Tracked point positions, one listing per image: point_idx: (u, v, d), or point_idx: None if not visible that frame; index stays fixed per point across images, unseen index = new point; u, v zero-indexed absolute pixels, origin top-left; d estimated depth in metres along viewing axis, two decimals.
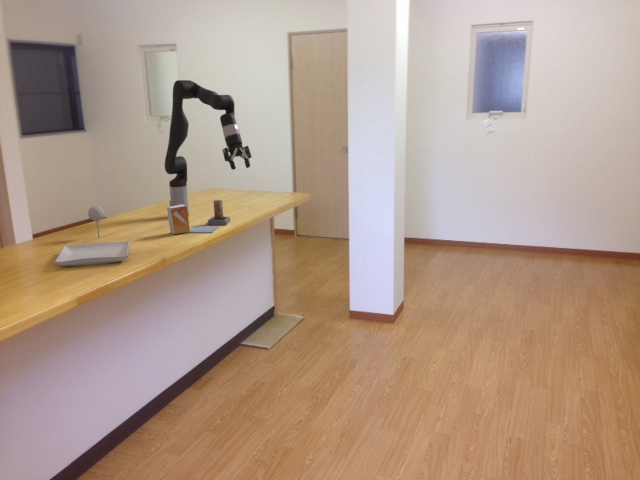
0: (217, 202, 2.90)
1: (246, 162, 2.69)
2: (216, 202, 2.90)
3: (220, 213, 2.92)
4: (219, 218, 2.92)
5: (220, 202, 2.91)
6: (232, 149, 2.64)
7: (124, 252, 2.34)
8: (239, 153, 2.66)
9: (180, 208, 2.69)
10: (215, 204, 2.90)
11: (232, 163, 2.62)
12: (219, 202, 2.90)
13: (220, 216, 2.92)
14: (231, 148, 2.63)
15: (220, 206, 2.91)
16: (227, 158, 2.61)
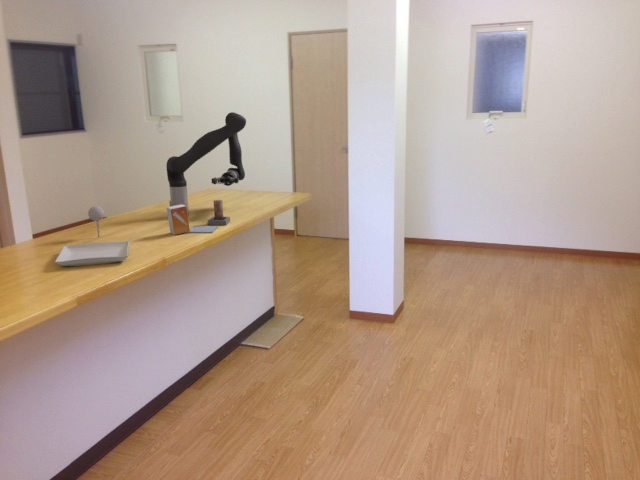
0: (217, 202, 2.90)
1: (216, 182, 3.03)
2: (216, 202, 2.90)
3: (220, 213, 2.92)
4: (219, 218, 2.92)
5: (220, 202, 2.91)
6: None
7: (124, 252, 2.34)
8: None
9: (180, 208, 2.69)
10: (215, 204, 2.90)
11: (232, 182, 3.03)
12: (219, 202, 2.90)
13: (220, 216, 2.92)
14: None
15: (220, 206, 2.91)
16: (237, 182, 3.05)
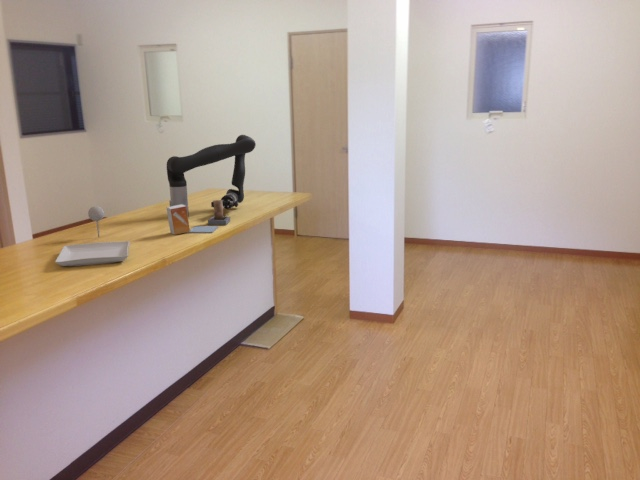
0: (217, 202, 2.90)
1: None
2: (216, 202, 2.90)
3: (220, 213, 2.92)
4: (219, 218, 2.92)
5: (220, 202, 2.91)
6: None
7: (124, 252, 2.34)
8: (224, 205, 3.07)
9: (180, 208, 2.69)
10: (215, 204, 2.90)
11: (231, 206, 3.03)
12: (219, 202, 2.90)
13: (220, 216, 2.92)
14: None
15: (220, 206, 2.91)
16: None
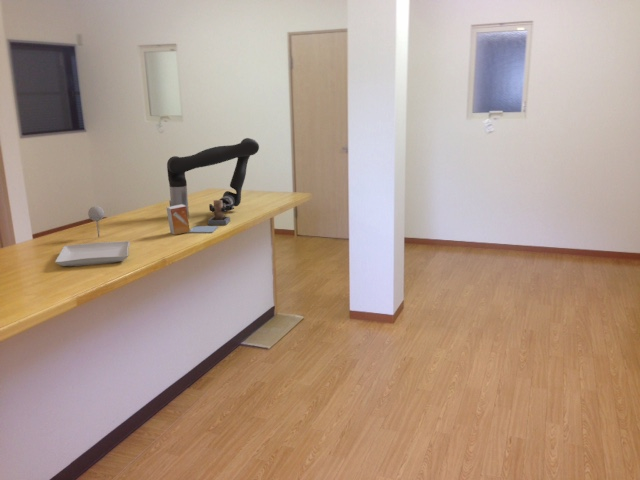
0: (217, 202, 2.90)
1: None
2: (216, 202, 2.90)
3: (220, 213, 2.92)
4: (219, 218, 2.92)
5: (220, 202, 2.91)
6: None
7: (124, 252, 2.34)
8: None
9: (180, 208, 2.69)
10: (215, 204, 2.90)
11: (224, 210, 2.93)
12: (219, 202, 2.90)
13: (220, 216, 2.92)
14: None
15: (220, 206, 2.91)
16: (229, 210, 2.95)
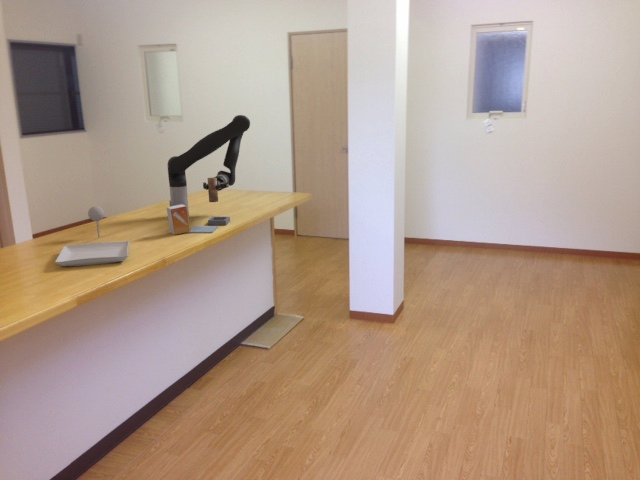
0: (211, 179, 2.82)
1: None
2: (210, 179, 2.82)
3: (214, 191, 2.84)
4: (213, 196, 2.84)
5: (214, 179, 2.83)
6: None
7: (124, 252, 2.34)
8: None
9: (180, 208, 2.69)
10: (209, 181, 2.82)
11: (218, 188, 2.85)
12: (213, 179, 2.82)
13: (214, 194, 2.84)
14: None
15: (214, 183, 2.83)
16: None
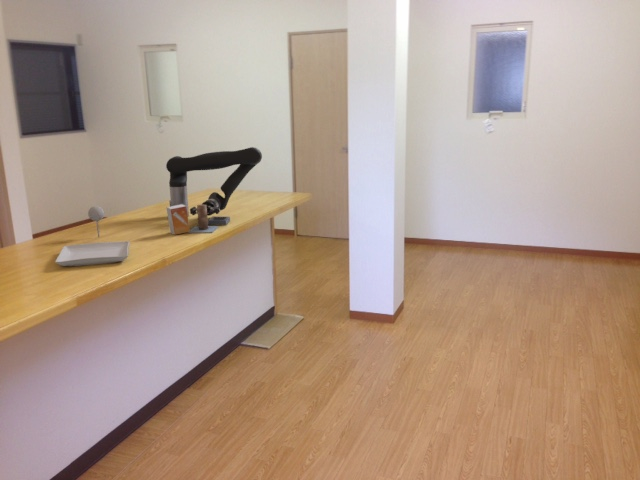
0: (201, 207, 2.75)
1: (194, 212, 2.78)
2: (200, 207, 2.75)
3: (204, 218, 2.76)
4: (203, 224, 2.77)
5: (204, 207, 2.75)
6: None
7: (124, 252, 2.34)
8: None
9: (180, 208, 2.69)
10: (199, 209, 2.75)
11: (212, 213, 2.78)
12: (203, 207, 2.75)
13: (204, 221, 2.77)
14: None
15: (204, 211, 2.76)
16: None
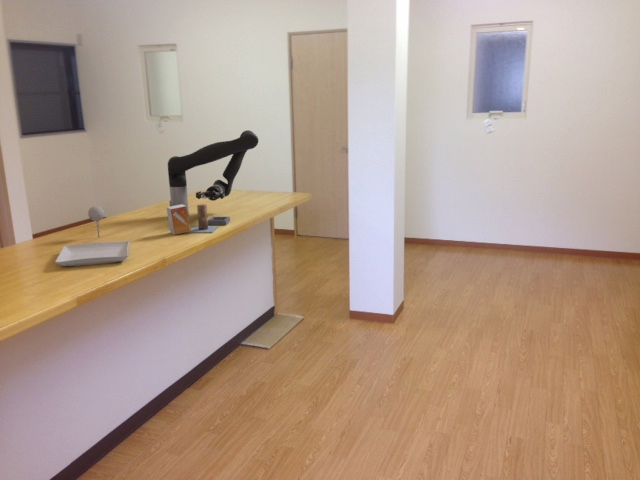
0: (201, 207, 2.75)
1: (200, 196, 2.90)
2: (200, 207, 2.75)
3: (204, 218, 2.76)
4: (203, 224, 2.77)
5: (204, 207, 2.75)
6: None
7: (124, 252, 2.34)
8: (209, 197, 2.94)
9: (180, 208, 2.69)
10: (199, 209, 2.75)
11: None
12: (203, 207, 2.75)
13: (204, 221, 2.77)
14: None
15: (204, 211, 2.76)
16: (222, 198, 2.92)
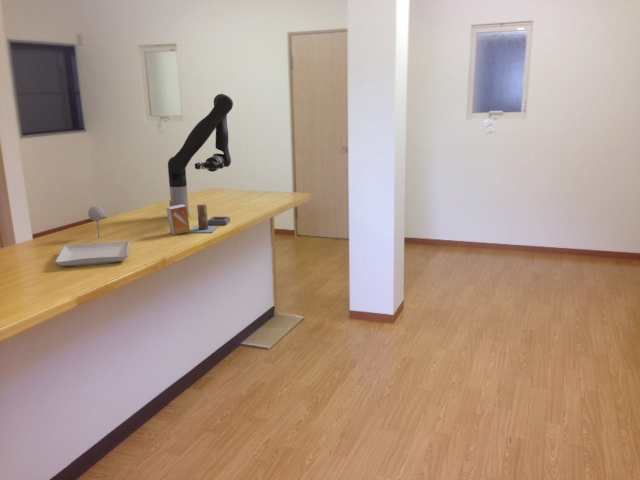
0: (201, 207, 2.75)
1: (199, 167, 2.86)
2: (200, 207, 2.75)
3: (204, 218, 2.76)
4: (203, 224, 2.77)
5: (204, 207, 2.75)
6: None
7: (124, 252, 2.34)
8: (208, 167, 2.90)
9: (180, 208, 2.69)
10: (199, 209, 2.75)
11: (216, 168, 2.85)
12: (203, 207, 2.75)
13: (204, 221, 2.77)
14: None
15: (204, 211, 2.76)
16: None
